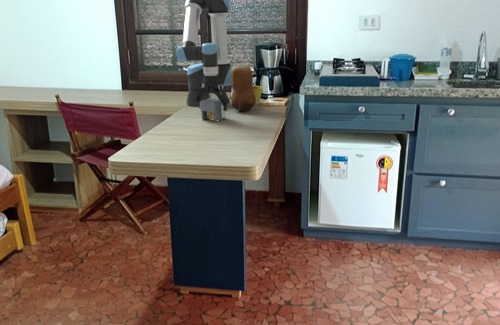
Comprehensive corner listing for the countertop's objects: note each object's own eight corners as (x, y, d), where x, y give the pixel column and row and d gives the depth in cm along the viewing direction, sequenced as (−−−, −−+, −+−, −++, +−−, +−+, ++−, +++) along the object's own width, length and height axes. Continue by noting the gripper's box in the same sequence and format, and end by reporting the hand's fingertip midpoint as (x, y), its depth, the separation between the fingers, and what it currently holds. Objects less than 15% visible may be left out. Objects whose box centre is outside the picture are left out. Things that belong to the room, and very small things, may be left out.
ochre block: (207, 119, 252) (206, 111, 250) (212, 118, 255) (211, 109, 254) (214, 120, 250) (214, 112, 248) (219, 118, 253) (219, 110, 252)
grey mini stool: (201, 120, 251) (200, 101, 248) (211, 116, 258) (210, 97, 255) (215, 122, 247) (214, 102, 243) (225, 118, 254) (224, 99, 251)
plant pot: (260, 105, 280) (260, 88, 276) (243, 105, 282) (242, 88, 278) (263, 102, 289) (263, 85, 286) (246, 101, 291) (246, 85, 288)
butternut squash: (243, 106, 278) (242, 62, 270) (260, 110, 269) (259, 64, 261) (225, 111, 269) (223, 65, 261) (242, 114, 260) (241, 67, 252)
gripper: (186, 74, 248) (189, 115, 255) (227, 77, 236) (229, 119, 243) (195, 72, 254) (198, 112, 261) (235, 75, 242) (237, 116, 249)
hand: (213, 115), depth 252 cm, fingers open, 13 cm apart
